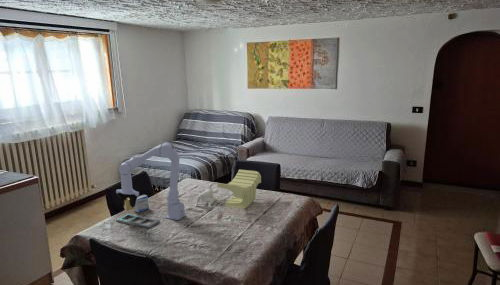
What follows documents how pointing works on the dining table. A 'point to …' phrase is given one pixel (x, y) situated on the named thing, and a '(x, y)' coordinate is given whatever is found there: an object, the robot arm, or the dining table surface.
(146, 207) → the medicine box
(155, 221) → the grey grid frame
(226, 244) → the dining table surface
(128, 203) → the mustard tan rectangular block
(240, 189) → the slatted curved stool
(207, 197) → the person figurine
